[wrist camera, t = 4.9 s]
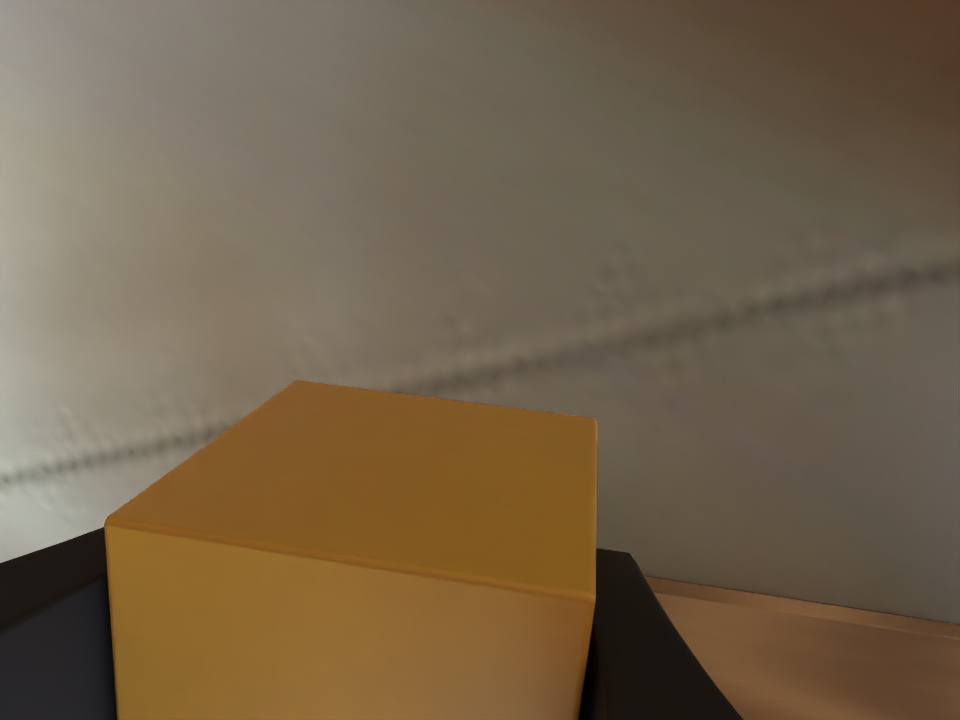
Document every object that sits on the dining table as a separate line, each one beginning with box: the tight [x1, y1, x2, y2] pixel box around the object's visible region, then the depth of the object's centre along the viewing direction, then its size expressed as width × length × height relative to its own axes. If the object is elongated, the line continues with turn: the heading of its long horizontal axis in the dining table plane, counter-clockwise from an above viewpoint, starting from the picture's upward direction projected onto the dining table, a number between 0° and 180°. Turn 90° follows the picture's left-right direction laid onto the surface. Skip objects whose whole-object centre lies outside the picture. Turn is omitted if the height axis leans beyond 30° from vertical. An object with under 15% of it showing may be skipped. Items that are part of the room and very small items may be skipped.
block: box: [104, 380, 597, 720], centre depth 9 cm, size 4×4×4 cm
